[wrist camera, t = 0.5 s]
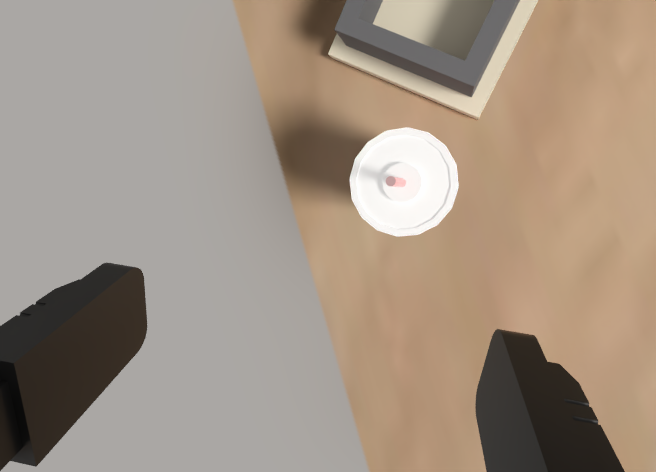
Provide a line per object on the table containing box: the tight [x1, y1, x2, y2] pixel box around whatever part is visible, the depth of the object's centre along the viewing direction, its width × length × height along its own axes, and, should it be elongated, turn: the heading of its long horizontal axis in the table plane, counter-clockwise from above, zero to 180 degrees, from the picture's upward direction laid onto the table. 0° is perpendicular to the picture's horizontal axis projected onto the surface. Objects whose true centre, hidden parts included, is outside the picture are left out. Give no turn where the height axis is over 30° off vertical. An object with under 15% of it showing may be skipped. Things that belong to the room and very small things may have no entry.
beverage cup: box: [350, 127, 459, 237], centre depth 27 cm, size 6×6×14 cm
